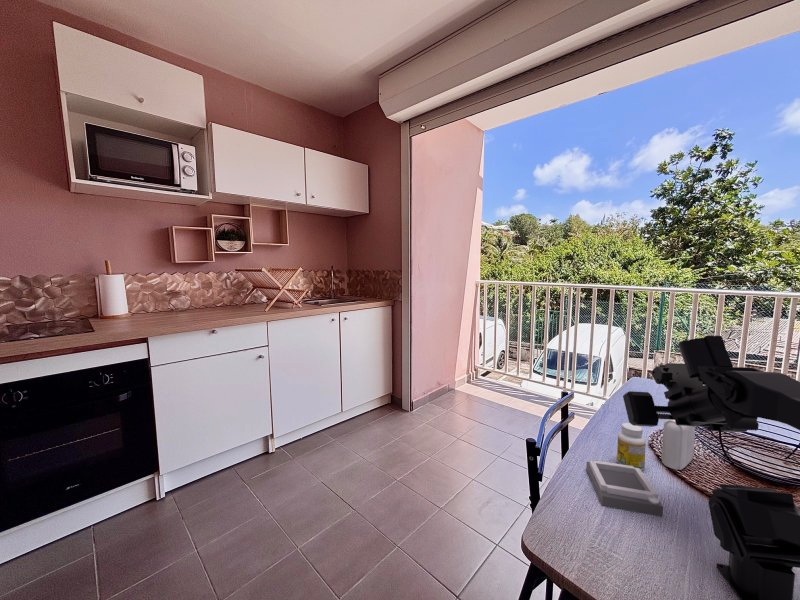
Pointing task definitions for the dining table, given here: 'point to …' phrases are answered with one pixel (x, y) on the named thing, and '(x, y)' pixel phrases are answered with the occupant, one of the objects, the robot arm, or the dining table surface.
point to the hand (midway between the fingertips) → (658, 417)
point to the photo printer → (677, 445)
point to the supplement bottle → (631, 446)
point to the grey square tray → (623, 488)
